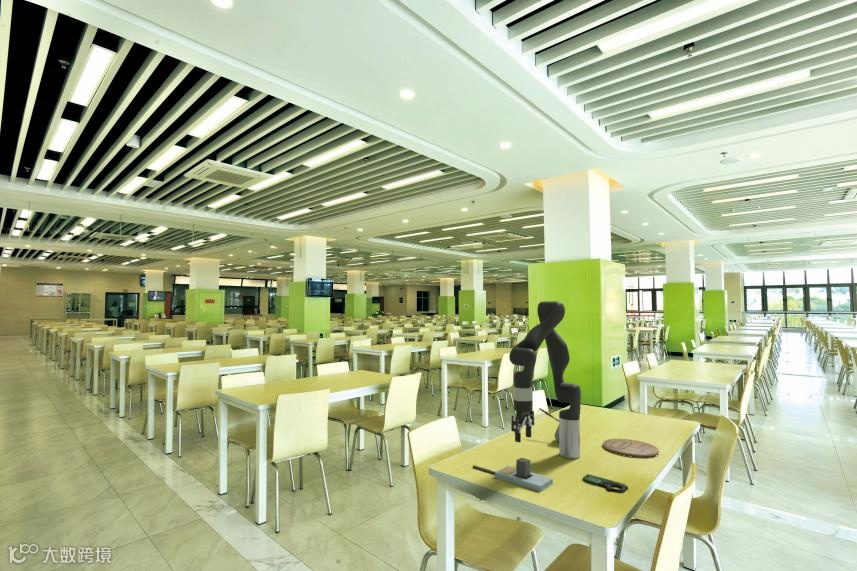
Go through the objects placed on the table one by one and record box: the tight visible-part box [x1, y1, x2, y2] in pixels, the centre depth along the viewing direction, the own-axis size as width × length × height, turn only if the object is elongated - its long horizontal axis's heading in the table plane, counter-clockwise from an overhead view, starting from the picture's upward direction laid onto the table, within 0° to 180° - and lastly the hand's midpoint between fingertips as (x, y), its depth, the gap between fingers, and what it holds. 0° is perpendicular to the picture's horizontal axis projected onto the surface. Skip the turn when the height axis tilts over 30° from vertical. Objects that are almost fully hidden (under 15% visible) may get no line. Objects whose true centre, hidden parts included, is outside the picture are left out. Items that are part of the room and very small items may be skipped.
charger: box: [515, 457, 531, 480], centre depth 168 cm, size 4×4×8 cm
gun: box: [582, 473, 629, 494], centre depth 165 cm, size 16×2×10 cm
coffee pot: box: [537, 408, 559, 443], centre depth 223 cm, size 21×12×15 cm, turn 46°
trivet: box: [602, 438, 660, 459], centre depth 209 cm, size 25×25×2 cm
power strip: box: [472, 464, 554, 493], centre depth 172 cm, size 10×33×2 cm, turn 48°
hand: (523, 439), depth 169 cm, fingers open, 8 cm apart
